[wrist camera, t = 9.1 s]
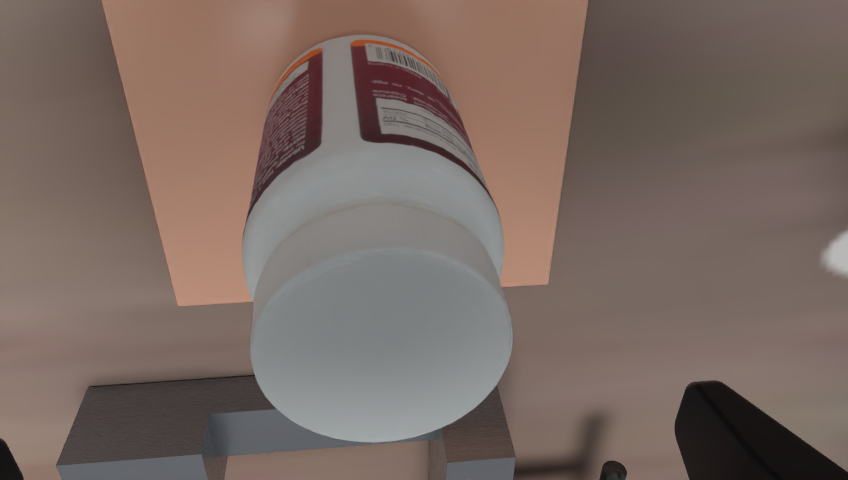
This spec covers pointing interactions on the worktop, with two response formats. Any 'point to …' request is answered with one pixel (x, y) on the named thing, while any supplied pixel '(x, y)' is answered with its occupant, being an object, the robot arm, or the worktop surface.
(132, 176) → the worktop surface
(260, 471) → the worktop surface
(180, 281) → the tile
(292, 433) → the vise
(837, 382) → the worktop surface
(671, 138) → the worktop surface
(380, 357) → the pill bottle
